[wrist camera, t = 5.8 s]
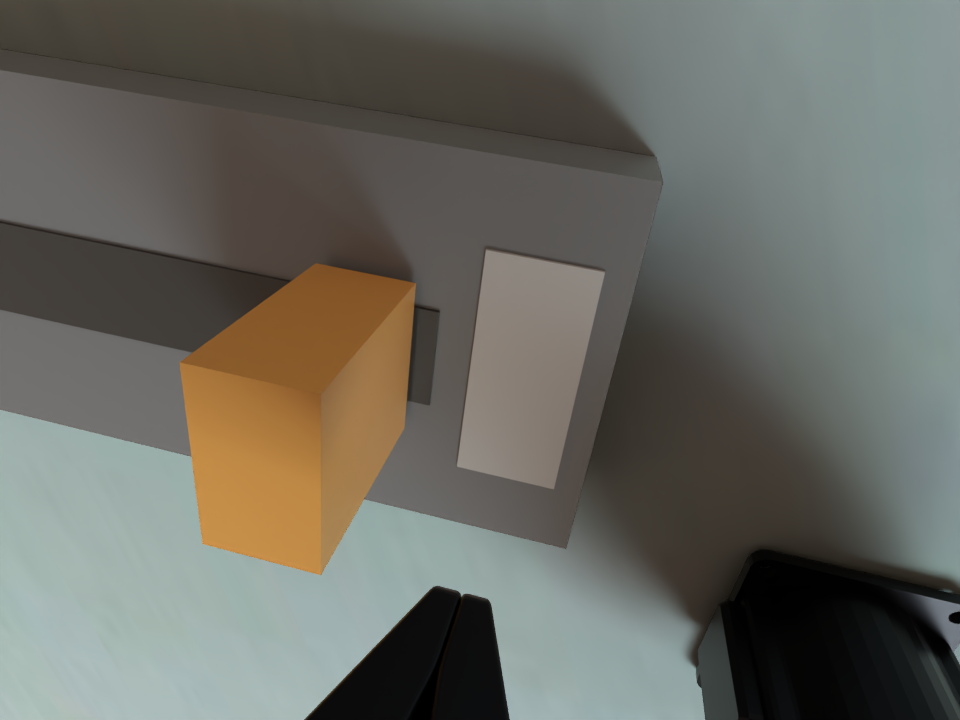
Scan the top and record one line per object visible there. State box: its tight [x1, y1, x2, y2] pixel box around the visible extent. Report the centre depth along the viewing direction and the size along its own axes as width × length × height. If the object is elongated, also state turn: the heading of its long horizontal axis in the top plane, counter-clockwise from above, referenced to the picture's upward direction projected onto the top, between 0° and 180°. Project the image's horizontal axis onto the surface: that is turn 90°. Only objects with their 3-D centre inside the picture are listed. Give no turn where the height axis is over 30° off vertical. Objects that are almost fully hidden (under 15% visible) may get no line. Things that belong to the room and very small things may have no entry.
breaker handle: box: [179, 263, 416, 575], centre depth 13 cm, size 2×4×5 cm, turn 173°
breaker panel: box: [0, 49, 663, 549], centre depth 17 cm, size 24×10×3 cm, turn 83°
